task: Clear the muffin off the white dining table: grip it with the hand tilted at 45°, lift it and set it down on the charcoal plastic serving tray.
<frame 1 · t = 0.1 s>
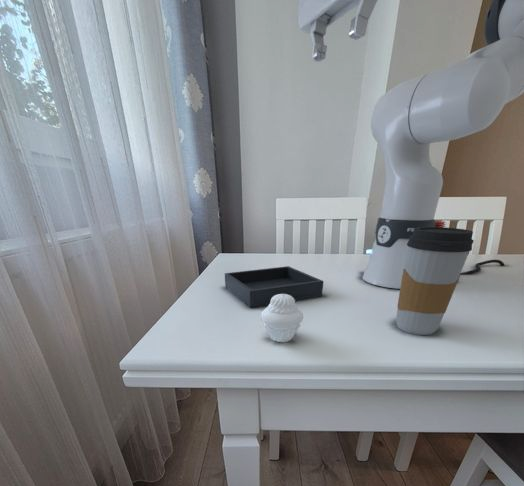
hand: (335, 49, 45), 39 cm above the table, tool pointing down, fingers open, 8 cm apart
tray: (271, 291, 65), on the table
coffee cup: (415, 328, 49), on the table
muffin: (281, 338, 45), on the table
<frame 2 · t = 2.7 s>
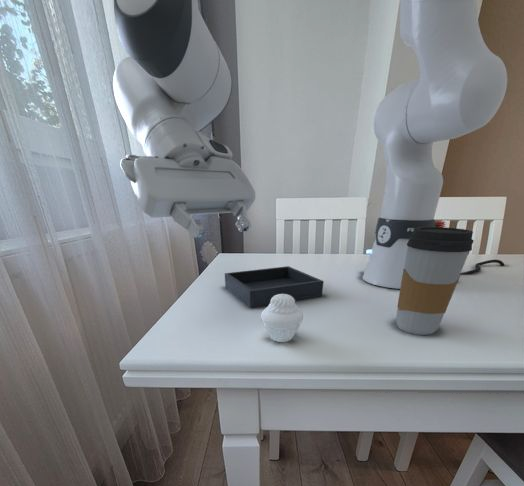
hand: (224, 231, 45), 14 cm above the table, tool tilted 45°, fingers open, 8 cm apart
nothing on the table moved.
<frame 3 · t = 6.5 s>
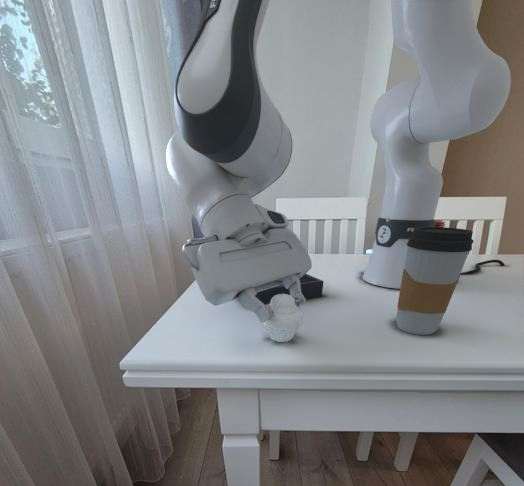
hand: (285, 311, 42), 4 cm above the table, tool tilted 45°, fingers closed on muffin, 6 cm apart
muffin: (281, 338, 45), on the table, touching gripper
everything else where it was.
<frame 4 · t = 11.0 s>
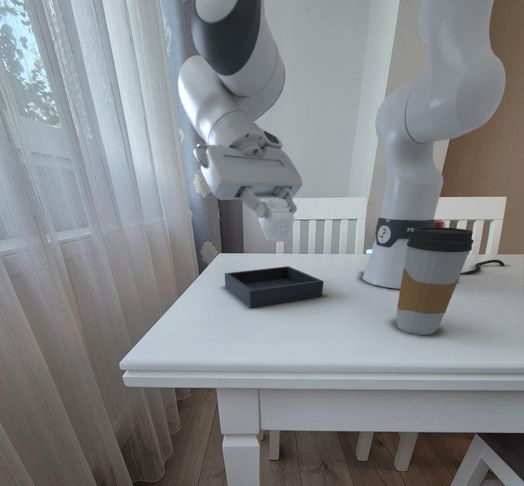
hand: (279, 213, 50), 16 cm above the table, tool tilted 45°, fingers closed on muffin, 6 cm apart
muffin: (275, 241, 53), point 12 cm above the table, touching gripper
everything else where it was.
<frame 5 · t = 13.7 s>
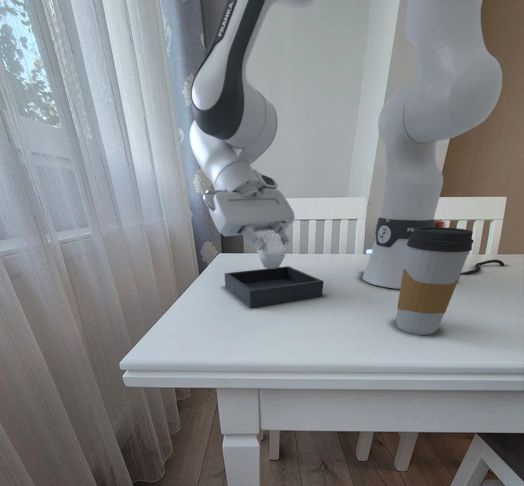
hand: (274, 245, 60), 10 cm above the table, tool tilted 45°, fingers closed on muffin, 6 cm apart
muffin: (271, 268, 62), point 5 cm above the table, touching gripper
everything else where it was.
when the fingers open (5 cm above the table, at t = 15.7 s): muffin stays where it is, resting on tray.
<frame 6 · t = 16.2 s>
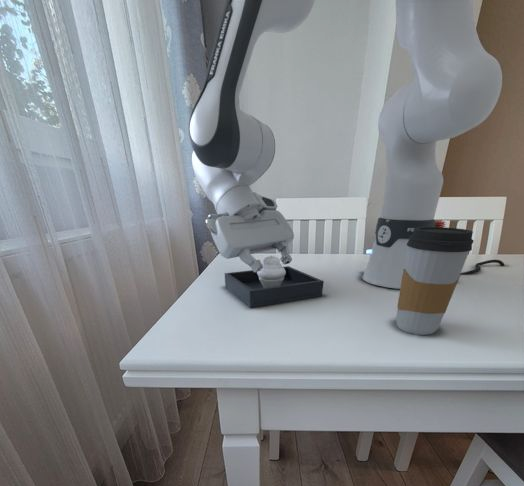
hand: (274, 266, 62), 6 cm above the table, tool tilted 45°, fingers open, 8 cm apart
muffin: (271, 289, 65), point 1 cm above the table, touching tray
everything else where it was.
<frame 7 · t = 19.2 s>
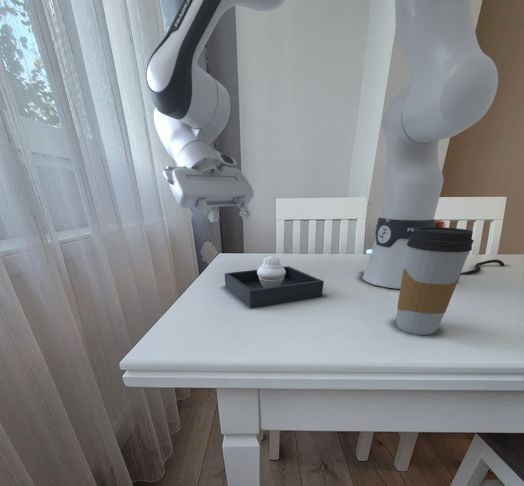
hand: (231, 218, 65), 14 cm above the table, tool tilted 45°, fingers open, 8 cm apart
nothing on the table moved.
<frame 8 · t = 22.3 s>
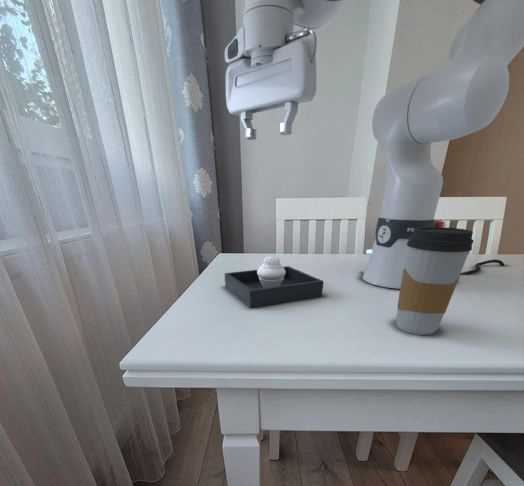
hand: (267, 137, 59), 29 cm above the table, tool pointing down, fingers open, 8 cm apart
nothing on the table moved.
at the end: muffin inside the target area in the tray (0.1 cm from its centre), point 0.6 cm above the tray's base; muffin tilted 0°; the gripper is holding nothing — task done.
